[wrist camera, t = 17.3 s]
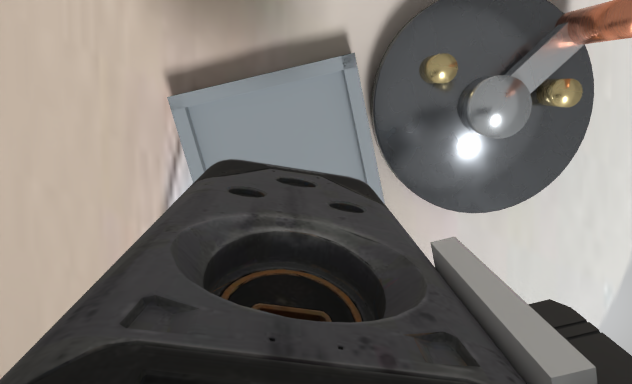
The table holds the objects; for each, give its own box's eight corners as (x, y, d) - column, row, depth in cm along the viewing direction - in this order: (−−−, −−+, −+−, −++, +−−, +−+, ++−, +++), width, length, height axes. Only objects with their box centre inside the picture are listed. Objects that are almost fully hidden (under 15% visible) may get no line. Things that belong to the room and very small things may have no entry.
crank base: (392, 228, 38) (404, 245, 34) (351, 18, 34) (359, 10, 30) (589, 181, 38) (624, 193, 34) (571, -34, 34) (608, -50, 30)
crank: (482, 147, 35) (529, 162, 28) (446, 105, 34) (485, 110, 27) (600, 40, 33) (679, 28, 27) (565, -7, 32) (639, -31, 26)
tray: (229, 284, 38) (226, 293, 37) (172, 96, 34) (167, 97, 33) (390, 246, 38) (394, 253, 37) (351, 54, 34) (354, 52, 33)
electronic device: (383, 180, 24) (808, 617, 4) (361, 284, 25) (612, 981, 6) (204, 152, 23) (-289, 539, 3) (191, 261, 24) (-215, 992, 5)
